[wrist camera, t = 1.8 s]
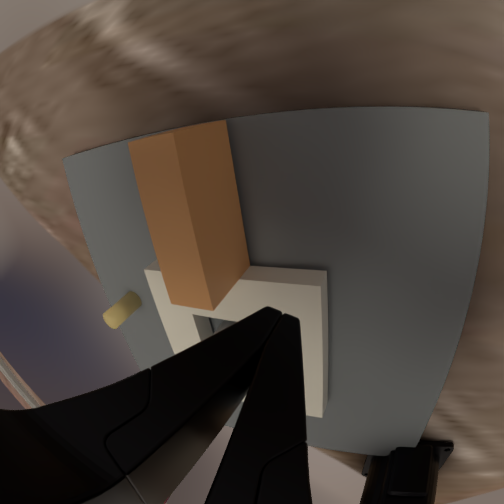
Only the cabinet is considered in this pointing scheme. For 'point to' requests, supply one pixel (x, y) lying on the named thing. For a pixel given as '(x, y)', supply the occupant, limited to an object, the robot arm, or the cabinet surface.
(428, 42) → the cabinet surface
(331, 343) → the slate board
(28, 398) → the envelope
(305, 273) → the brown white angular piece
